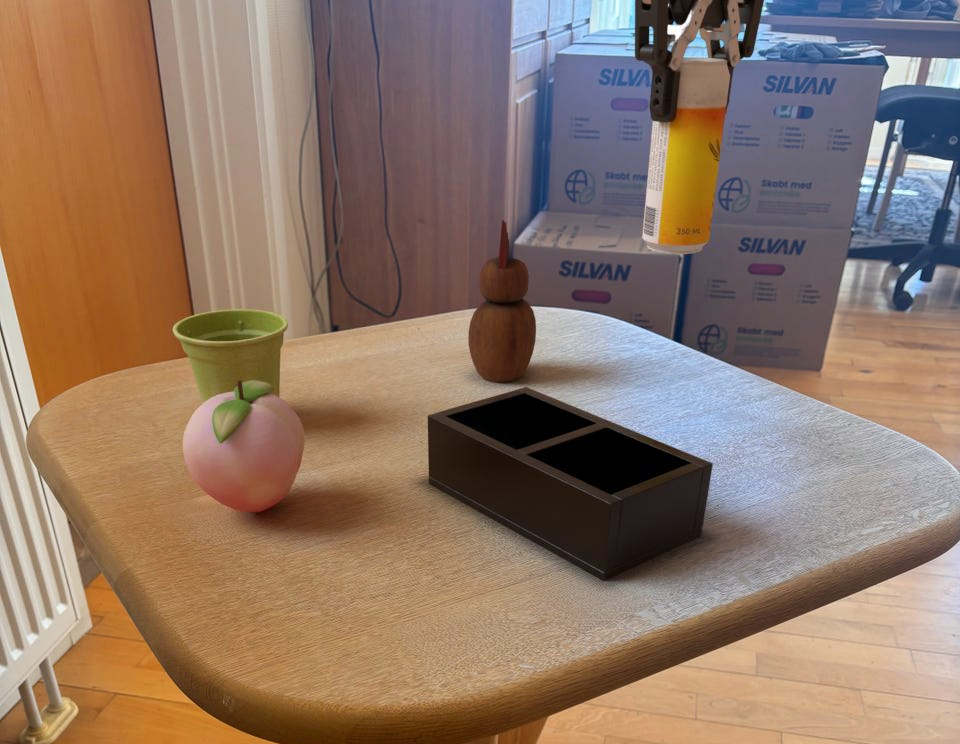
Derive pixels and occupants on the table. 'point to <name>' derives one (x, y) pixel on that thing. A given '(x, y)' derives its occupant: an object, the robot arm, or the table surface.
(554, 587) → the table surface
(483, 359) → the wooden figurine
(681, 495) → the divided box
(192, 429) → the decorative fruit
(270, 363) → the plant pot
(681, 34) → the robot arm
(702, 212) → the beer can
